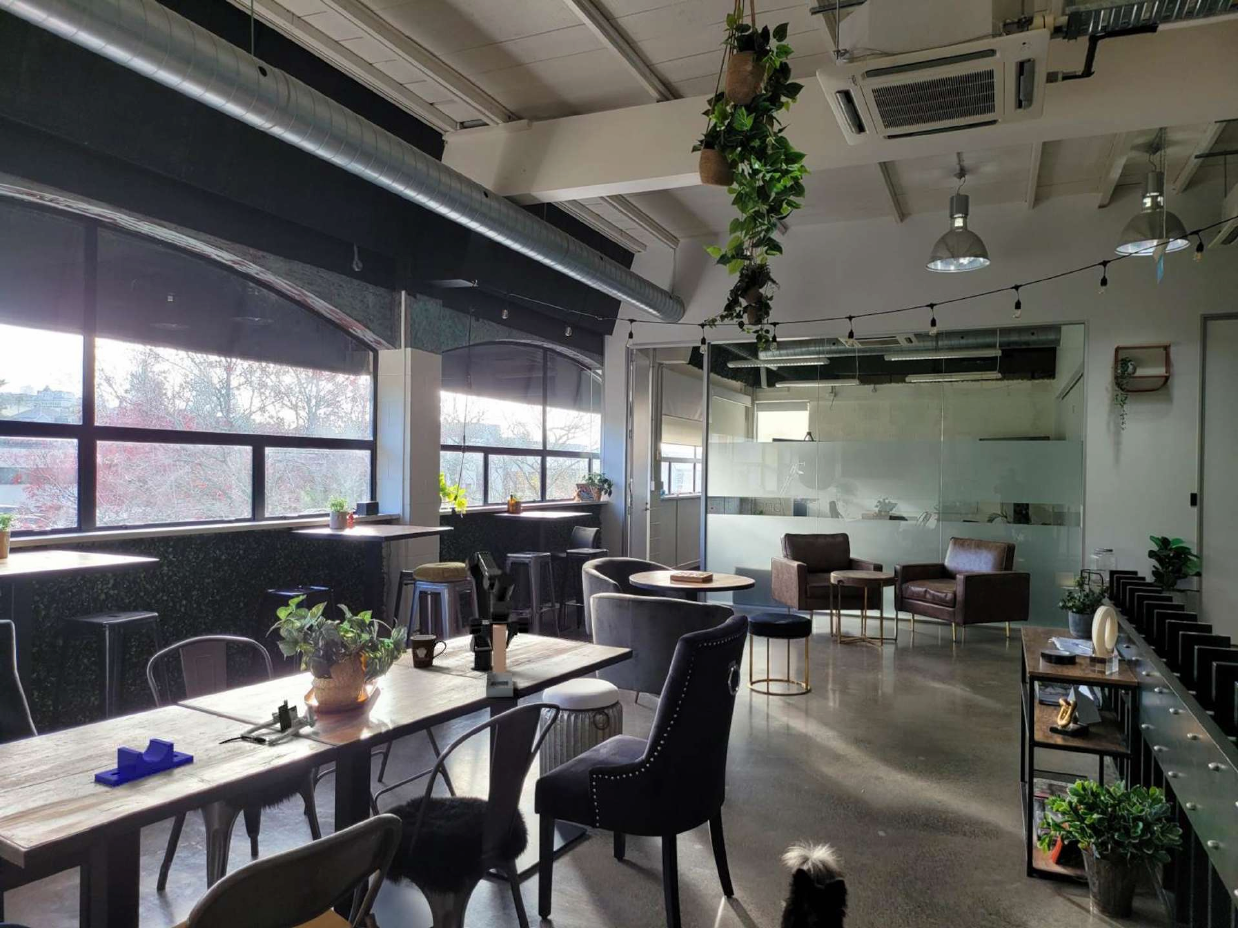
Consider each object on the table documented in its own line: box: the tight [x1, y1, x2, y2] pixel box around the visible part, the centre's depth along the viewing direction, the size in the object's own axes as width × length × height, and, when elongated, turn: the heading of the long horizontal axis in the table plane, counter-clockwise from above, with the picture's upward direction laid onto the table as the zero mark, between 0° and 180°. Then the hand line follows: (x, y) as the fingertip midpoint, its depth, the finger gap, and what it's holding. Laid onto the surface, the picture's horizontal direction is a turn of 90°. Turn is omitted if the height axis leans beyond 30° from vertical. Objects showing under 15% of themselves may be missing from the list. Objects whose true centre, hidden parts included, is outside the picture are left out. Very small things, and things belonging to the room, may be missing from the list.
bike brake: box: [218, 699, 319, 746], centre depth 209 cm, size 14×7×20 cm
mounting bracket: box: [94, 737, 195, 788], centre depth 185 cm, size 18×7×6 cm, turn 150°
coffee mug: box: [410, 634, 447, 669], centre depth 288 cm, size 12×9×10 cm
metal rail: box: [485, 672, 514, 698], centre depth 258 cm, size 20×8×2 cm, turn 8°
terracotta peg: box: [492, 625, 507, 674], centre depth 254 cm, size 4×4×14 cm
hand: (499, 648), depth 253 cm, fingers closed on terracotta peg, 4 cm apart
